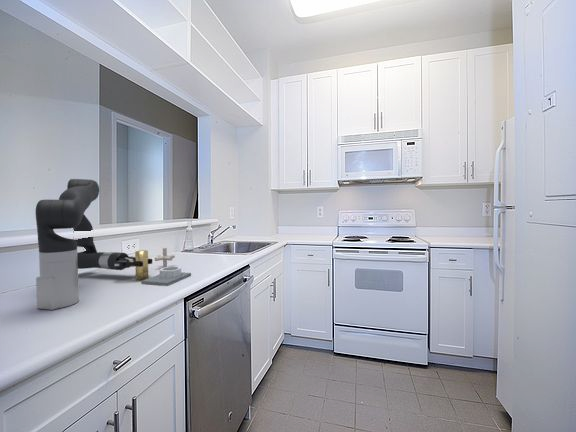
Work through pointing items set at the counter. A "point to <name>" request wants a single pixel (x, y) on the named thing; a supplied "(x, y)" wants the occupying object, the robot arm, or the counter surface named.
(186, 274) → the plate
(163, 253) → the pipe connector
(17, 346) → the counter surface
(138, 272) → the cylinder
